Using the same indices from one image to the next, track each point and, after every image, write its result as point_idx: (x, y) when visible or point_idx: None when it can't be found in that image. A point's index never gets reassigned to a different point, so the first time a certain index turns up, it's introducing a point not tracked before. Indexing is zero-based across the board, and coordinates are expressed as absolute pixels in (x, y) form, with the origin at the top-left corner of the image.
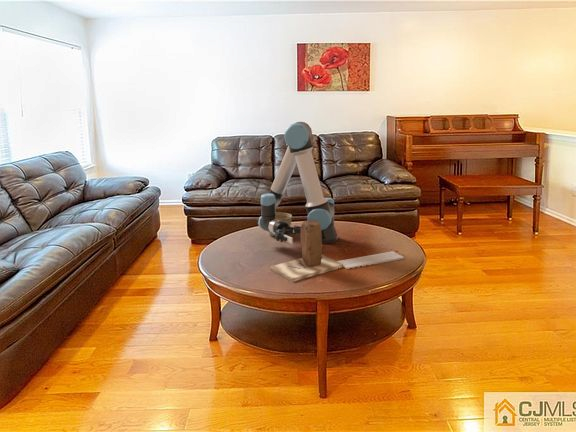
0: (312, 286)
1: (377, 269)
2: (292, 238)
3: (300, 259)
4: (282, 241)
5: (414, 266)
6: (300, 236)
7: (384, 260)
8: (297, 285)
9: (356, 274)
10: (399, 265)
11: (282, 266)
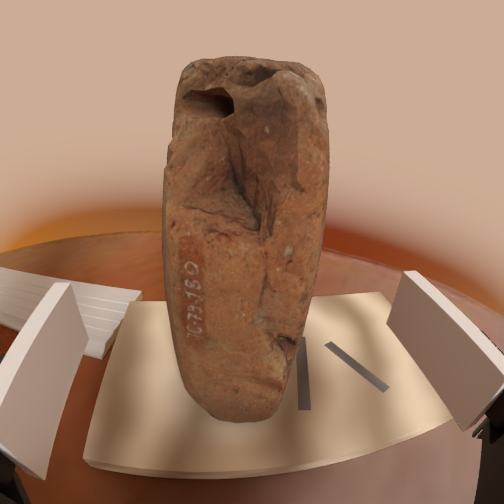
0: (321, 268)
1: (86, 264)
2: (404, 276)
3: (271, 452)
4: (480, 424)
5: (33, 246)
6: (319, 251)
7: (27, 273)
8: (362, 284)
9: (155, 268)
10: (38, 257)
11: (411, 391)
